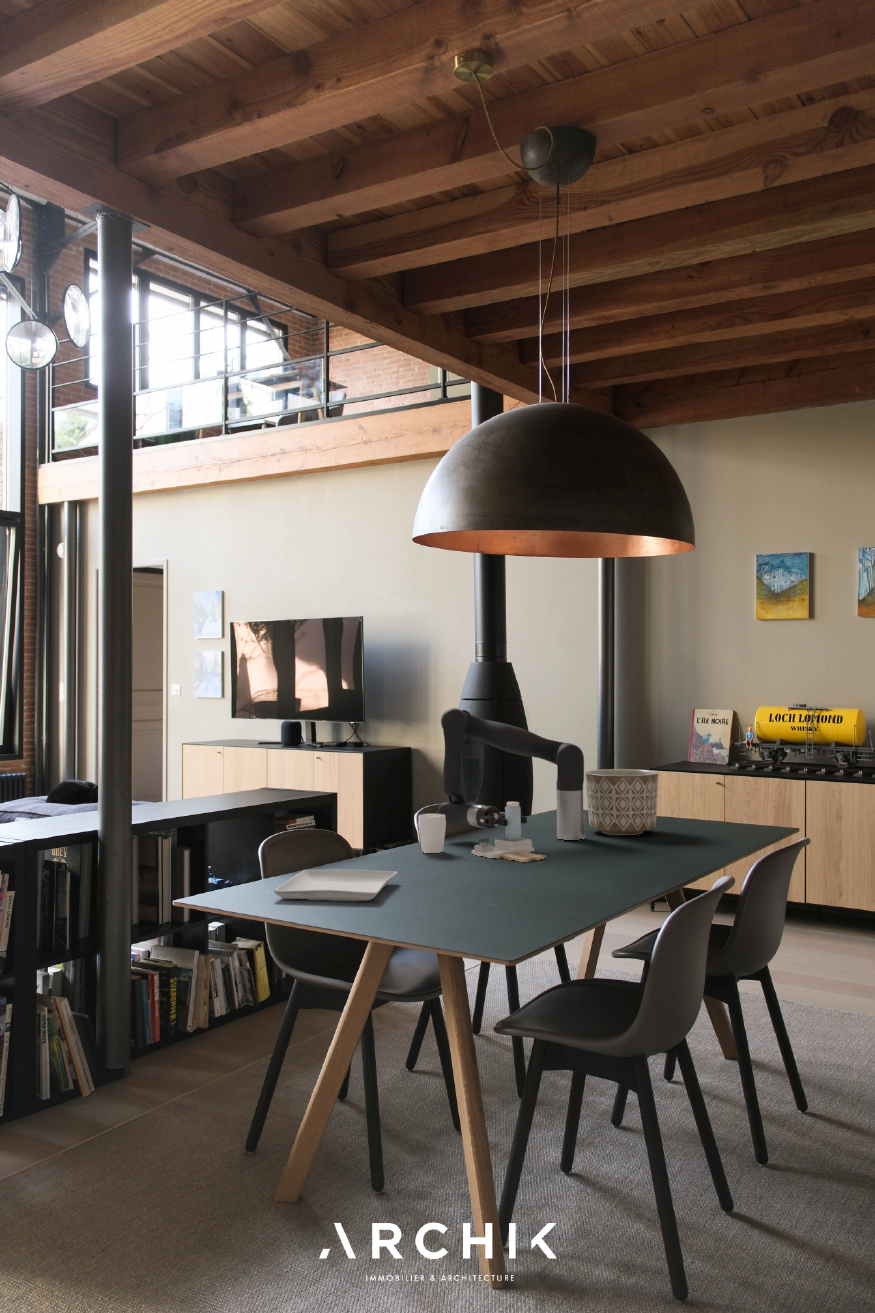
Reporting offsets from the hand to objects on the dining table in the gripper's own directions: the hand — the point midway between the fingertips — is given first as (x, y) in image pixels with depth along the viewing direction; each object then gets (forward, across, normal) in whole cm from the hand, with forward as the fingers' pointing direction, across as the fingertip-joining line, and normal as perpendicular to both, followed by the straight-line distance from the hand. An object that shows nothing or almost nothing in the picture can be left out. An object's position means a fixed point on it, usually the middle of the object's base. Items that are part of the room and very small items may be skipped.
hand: (516, 821), depth 319 cm
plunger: (-4, -11, +9) cm, 14 cm away
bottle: (-2, 0, +8) cm, 9 cm away
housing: (-2, -4, +10) cm, 11 cm away
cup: (-19, -20, +10) cm, 29 cm away
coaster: (+9, -6, +10) cm, 15 cm away
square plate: (+11, -76, +11) cm, 78 cm away
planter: (-4, +56, +10) cm, 57 cm away
